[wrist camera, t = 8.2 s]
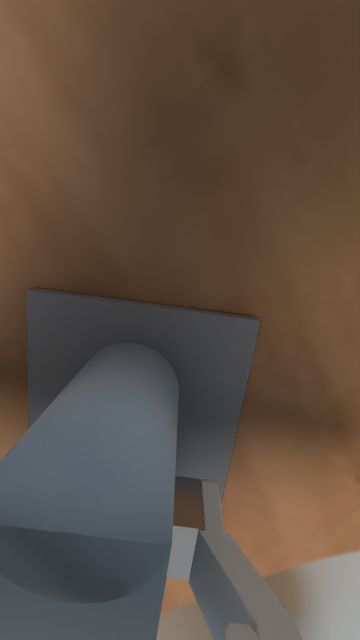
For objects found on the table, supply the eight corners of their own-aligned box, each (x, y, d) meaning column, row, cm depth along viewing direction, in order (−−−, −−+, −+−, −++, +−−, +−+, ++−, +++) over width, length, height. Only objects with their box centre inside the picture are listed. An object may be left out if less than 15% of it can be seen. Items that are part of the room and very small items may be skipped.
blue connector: (82, 336, 9) (-36, 436, 4) (185, 349, 9) (185, 463, 4) (73, 567, 12) (-6, 790, 7) (151, 576, 12) (128, 804, 7)
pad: (34, 287, 11) (25, 290, 10) (256, 317, 11) (260, 321, 10) (37, 517, 14) (30, 529, 13) (209, 538, 14) (210, 551, 13)
